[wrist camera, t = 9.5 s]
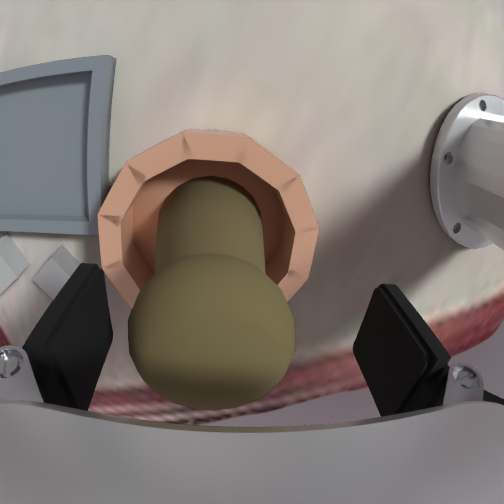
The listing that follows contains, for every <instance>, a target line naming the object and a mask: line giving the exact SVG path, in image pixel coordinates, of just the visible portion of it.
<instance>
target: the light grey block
mask: <svg viewBox="0 0 504 504" xmlns="http://www.w3.org/2000/svg"><path fill="white" fill-rule="evenodd" d="M29 264H30V263H29V262H28V261H27V259H26V258H25V257H24V255H23V254H22V252H21V251H20V250H19V248H18V247H17V246H16V244H15V243H14V241H13V240H12V239H11V237H10V236H9V234H8V233H7V234H6V235H5V236H4V237H2V238H1V239H0V294H1V293H2V292H3V291H4V290H5V289H6V288H7V287H8V286H9V285H10V284H11V283H12V282H13V281H14V280H16V279H17V278H18V276H19V275H20V274H21V273H22V272H23V271H24V270H25V269H26V268H27V266H28V265H29Z"/></svg>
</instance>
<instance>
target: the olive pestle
mask: <svg viewBox="0 0 504 504" xmlns="http://www.w3.org/2000/svg"><path fill="white" fill-rule="evenodd" d="M128 341H129V353H130V356H131V358H132V360H133V362H134V364H135V366H136V368H137V370H138V372H139V374H140V375H141V377H142V379H143V380H144V381H145V382H146V383H147V384H148V385H149V386H150V387H151V388H152V389H153V390H154V391H155V392H156V393H157V394H159V395H160V396H162V397H164V398H166V399H168V400H169V401H171V402H173V403H176V404H179V405H182V406H186V407H189V408H193V409H204V410H221V409H230V408H236V407H239V406H242V405H245V404H248V403H251V402H254V401H256V400H257V399H259V398H261V397H262V396H264V395H265V394H267V393H269V392H270V391H271V390H272V389H273V388H274V387H275V386H276V385H277V384H278V383H279V382H280V381H281V379H282V378H283V377H284V375H285V373H286V371H287V369H288V367H289V364H290V362H291V359H292V357H293V354H294V352H295V319H294V317H293V314H292V312H291V309H290V307H289V305H288V303H287V301H286V299H285V297H284V294H283V292H282V290H281V289H280V288H279V287H278V286H277V285H276V284H275V283H274V282H273V281H272V280H271V279H270V278H269V277H268V276H267V275H266V272H265V257H264V242H263V228H262V218H261V212H260V209H259V207H258V205H257V203H256V201H255V199H254V197H253V196H252V195H251V194H250V193H249V192H248V191H247V190H246V189H245V188H244V187H243V186H241V185H239V184H238V183H236V182H234V181H232V180H230V179H228V178H222V177H216V176H204V177H198V178H192V179H190V180H188V181H186V182H184V183H183V184H181V185H179V186H177V187H176V188H175V189H174V190H173V191H172V192H171V193H170V194H169V195H168V196H167V197H166V199H165V201H164V203H163V205H162V207H161V209H160V211H159V215H158V225H157V237H156V254H155V274H154V276H153V277H152V278H151V279H150V280H149V281H148V282H147V283H146V284H145V285H144V286H143V287H142V289H141V290H140V291H139V294H138V296H137V298H136V301H135V303H134V306H133V308H132V311H131V313H130V316H129V319H128Z"/></svg>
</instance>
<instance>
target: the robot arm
mask: <svg viewBox="0 0 504 504" xmlns="http://www.w3.org/2000/svg"><path fill="white" fill-rule="evenodd" d="M430 189H431V197H432V203H433V208H434V211H435V214H436V217H437V220H438V222H439V224H440V225H441V227H442V229H443V230H444V231H445V233H446V234H447V235H448V236H449V237H450V238H451V239H453V240H454V241H456V242H457V243H458V244H460V245H462V246H464V247H467V248H473V249H477V248H482V247H486V246H488V245H490V244H492V243H494V244H495V245H497V246H498V247H500V248H501V249H503V250H504V99H502V98H500V97H498V96H496V95H491V94H485V93H480V94H472V95H470V96H467V97H465V98H464V99H462V100H461V101H459V102H458V103H457V104H456V105H455V106H454V107H453V108H452V110H451V111H450V112H449V113H448V115H447V117H446V118H445V120H444V122H443V124H442V126H441V128H440V131H439V133H438V136H437V139H436V142H435V146H434V151H433V155H432V162H431V171H430ZM112 340H113V330H112V325H111V319H110V313H109V307H108V300H107V293H106V286H105V278H104V272H103V270H102V269H99V267H98V265H97V264H87V263H81V264H80V265H79V266H78V267H77V269H76V270H75V271H74V273H73V274H72V275H71V277H70V278H69V279H68V281H67V282H66V283H65V285H64V286H63V287H62V289H61V290H60V292H59V293H58V294H57V296H56V297H55V299H54V300H53V301H52V303H51V304H50V306H49V307H48V308H47V310H46V311H45V313H44V314H43V316H42V317H41V319H40V320H39V322H38V323H37V325H36V326H35V328H34V329H33V331H32V332H31V334H30V336H29V337H28V339H27V340H26V342H25V344H24V346H23V347H22V348H21V347H18V346H15V345H7V346H2V347H0V504H504V399H502V398H500V397H498V396H496V395H493V394H491V393H489V392H487V391H485V390H483V387H484V386H483V385H484V383H483V379H482V376H481V375H480V373H479V372H478V371H477V370H476V369H475V368H474V367H472V366H470V365H469V364H466V363H462V362H457V363H454V364H453V365H451V366H450V367H449V366H448V364H447V363H448V362H449V360H450V358H451V356H450V355H449V354H448V352H447V351H446V349H445V348H444V347H443V345H442V344H441V342H440V341H439V340H438V338H437V337H436V336H435V334H434V333H433V332H432V330H431V329H430V328H429V326H428V325H427V324H426V322H425V321H424V320H423V318H422V317H421V316H420V314H419V313H418V312H417V311H416V309H415V308H414V307H413V305H412V304H411V303H410V302H409V300H408V299H407V298H406V297H405V295H404V294H403V293H402V292H401V290H400V289H399V288H398V287H397V286H396V285H393V284H381V285H380V286H379V287H378V288H376V289H375V290H374V292H373V295H372V297H371V300H370V303H369V306H368V308H367V311H366V314H365V316H364V319H363V322H362V324H361V327H360V329H359V332H358V334H357V337H356V339H355V342H354V345H353V353H354V355H355V358H356V360H357V362H358V364H359V367H360V369H361V371H362V373H363V376H364V378H365V380H366V382H367V385H368V387H369V389H370V392H371V394H372V396H373V399H374V401H375V403H376V406H377V408H378V410H379V413H380V415H381V417H377V418H370V419H364V420H356V421H348V422H339V423H328V424H317V425H303V426H285V427H284V426H283V427H219V426H200V425H185V424H174V423H164V422H155V421H147V420H139V419H132V418H126V417H119V416H113V415H107V414H101V413H95V412H90V411H88V408H89V405H90V402H91V399H92V396H93V393H94V390H95V387H96V384H97V381H98V378H99V376H100V373H101V370H102V367H103V365H104V362H105V359H106V356H107V354H108V351H109V348H110V346H111V343H112Z"/></svg>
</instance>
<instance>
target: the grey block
mask: <svg viewBox="0 0 504 504" xmlns="http://www.w3.org/2000/svg"><path fill="white" fill-rule="evenodd" d="M79 265H80V263H79V262H78V261H77V260H76V259H75V258H74V257H73V256H72V255H71V253H70V252H69V251H68V250H67V249H66V248H65V247H64V246H63V245H61V247H60V248H59V249H58V250H57V251H56V252H55V253H54V254H53V255H52V257H51V258H50V259H49V260H48V261H47V262H46V263H45V265H44V266H43V267H42V268H41V269H40V270H39V272H38V273H37V274H36V275H35V276H34V278H33V279H32V280H33V281H34V282H35V283H36V284H37V285H38V286H39V287H40V288H41V289H42V290H43V291H44V292H45V293H46V294H47V295H48V296H49V297H50V298H51V299H52V300H54V299H55V297H56V296H57V294H58V293H59V292H60V290H61V289H62V287H63V286H64V285H65V283H66V282H67V281H68V279H69V278H70V277H71V275H72V274H73V273H74V271H75V270H76V269H77V267H78V266H79Z"/></svg>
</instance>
